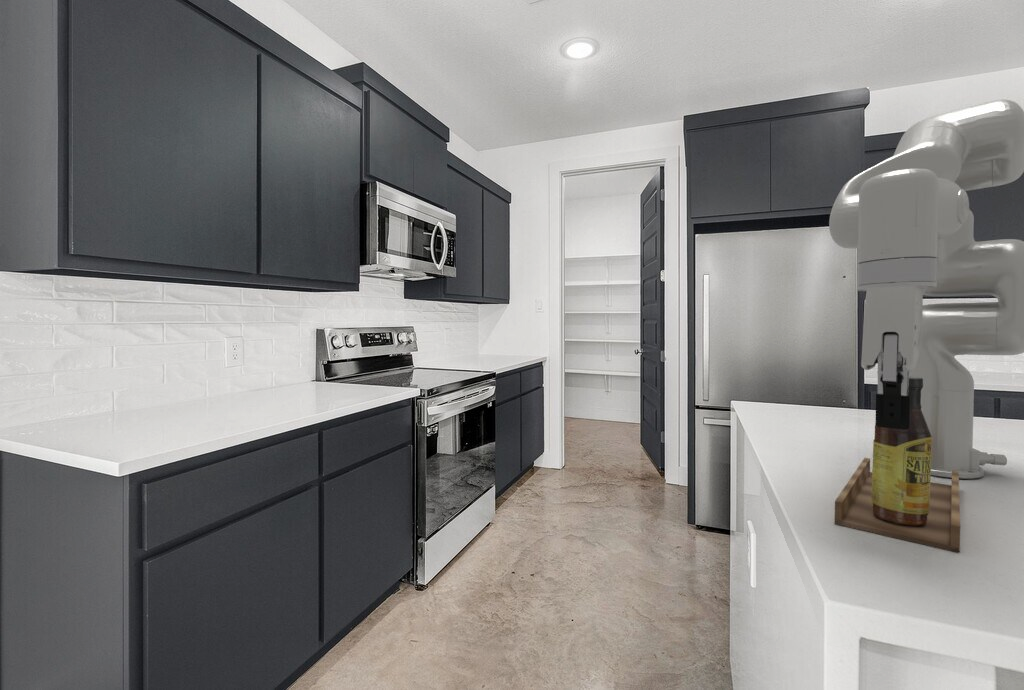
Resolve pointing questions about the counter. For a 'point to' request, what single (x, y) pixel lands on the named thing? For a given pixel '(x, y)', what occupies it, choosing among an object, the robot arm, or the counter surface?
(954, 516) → the tray
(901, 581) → the counter surface
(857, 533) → the counter surface
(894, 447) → the sauce bottle
